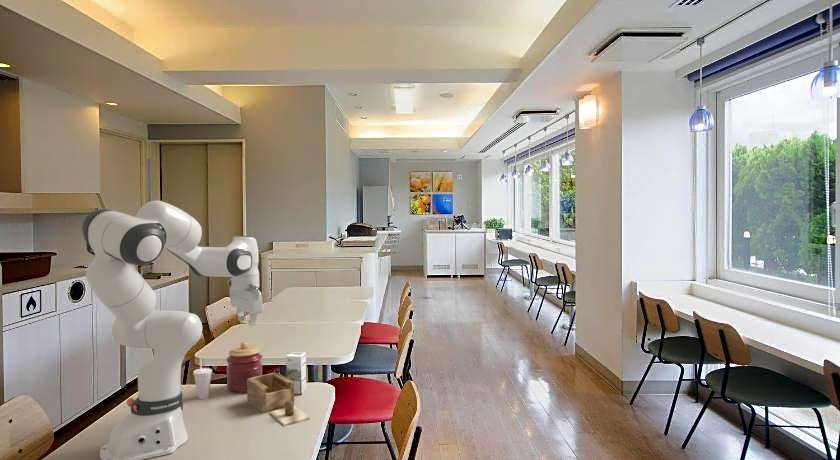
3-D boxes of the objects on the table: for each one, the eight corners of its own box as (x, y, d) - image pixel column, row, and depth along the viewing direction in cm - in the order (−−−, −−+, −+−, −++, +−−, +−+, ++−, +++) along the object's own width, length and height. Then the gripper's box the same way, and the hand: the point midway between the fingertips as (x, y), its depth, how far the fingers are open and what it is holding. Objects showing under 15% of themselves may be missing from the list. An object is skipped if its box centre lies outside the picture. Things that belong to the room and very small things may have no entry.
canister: (219, 391, 193) (218, 345, 193) (243, 380, 205) (242, 336, 204) (246, 396, 188) (245, 348, 188) (270, 384, 200) (269, 339, 199)
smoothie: (196, 394, 191) (195, 357, 190) (214, 393, 192) (213, 355, 191) (191, 400, 184) (190, 362, 184) (210, 399, 185) (209, 361, 185)
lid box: (263, 413, 172) (263, 389, 172) (247, 401, 183) (246, 378, 183) (294, 405, 179) (293, 381, 179) (276, 394, 190) (276, 372, 190)
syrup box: (306, 389, 195) (306, 351, 194) (301, 395, 189) (301, 356, 188) (292, 389, 195) (291, 351, 195) (286, 394, 189) (285, 355, 189)
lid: (284, 427, 162) (284, 411, 162) (270, 415, 172) (269, 399, 172) (309, 421, 167) (309, 405, 167) (294, 409, 177) (293, 394, 177)
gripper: (267, 285, 170) (268, 326, 171) (243, 279, 186) (244, 317, 187) (248, 287, 166) (249, 329, 167) (226, 280, 182) (227, 319, 183)
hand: (246, 323), depth 177 cm, fingers open, 8 cm apart
